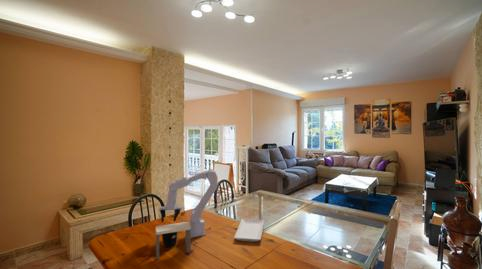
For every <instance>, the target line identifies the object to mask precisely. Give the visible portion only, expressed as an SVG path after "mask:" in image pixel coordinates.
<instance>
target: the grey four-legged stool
mask: <svg viewBox="0 0 482 269" xmlns="http://www.w3.org/2000/svg"><path fill="white" fill-rule="evenodd" d="M184 231H185V248H186V250H187V253H188V254H190V253H192V252H191V248H192V247H191V245H192V244H191V241H192V240H191V239H192V238H191V227H190V221H183V222H177V223H170V224H163V225H156V226H155V259H156V260H160V235H162V234H166V233H172V232H184Z"/></svg>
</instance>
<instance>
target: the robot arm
mask: <svg viewBox="0 0 482 269" xmlns="http://www.w3.org/2000/svg"><path fill="white" fill-rule="evenodd" d="M201 179H202V180H208V182H209V186H208V187H207V190H206V191H205V193H204V194H203V196H202V197H201V199H200V201H199V202H198V203H197V205H196V206H195V207H194V208H193V209H192V210H191V211H190V217H189V219H190V220H189V224H190V227H191V239H192V238H197V237H202V236H205V235H206V234H205V232H206V231H205V230H206V224H205V220H204V219H201V216H202V214H203V213H204V212H203V211H204V209H205V208H206V206H207V205H208V204H209V201H210V199H211V198H212V197H213V195H214V193H215V192H216V190H217V188H218V184H219V182H218V174H217V173H216V171H215V169H212V168H210V169H207V170H203V171H201V172H199V173H197V174H195V175H192V176H190V177H188V176H182V177H181V178H180V179H175V180H174V181H171V182H170V183H169V185H168V193H167V196H166V197H167V200H166V204H165V205H164V206H158V209H157V210H158V212H159V213H160V216H161V221H160V222H161V223H163V222H164V218H165V214H166V211H174V215H173V222H176V220H177V217H178V216H179V215H180V213H181V211H182V209H183V206H181V205H180V206H178V205H177V197H178V190H179V189H183V188H185V187H187V186H190V184H191V183H192V182H195V181H199V180H201Z"/></svg>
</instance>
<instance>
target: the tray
mask: <svg viewBox="0 0 482 269" xmlns="http://www.w3.org/2000/svg"><path fill="white" fill-rule="evenodd" d="M264 226H265V219H258V218H257V219H255V218H241V220H240V223H239V225H238V227H237V230H236V231H235V234H234V237H233V239H234V240H235V239H236V240H237V241H241V242H254V243H255V242H259V241H261V239H262V235H263V232H264V231H263V230H264Z"/></svg>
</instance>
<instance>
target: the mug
mask: <svg viewBox="0 0 482 269" xmlns="http://www.w3.org/2000/svg"><path fill="white" fill-rule="evenodd" d="M178 232H179V231H178ZM178 232H172V233H166V234H161V237H162V244H163V247H165V248H173V247H174V246H176V244H177V241H178V240H177V239H178Z"/></svg>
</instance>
